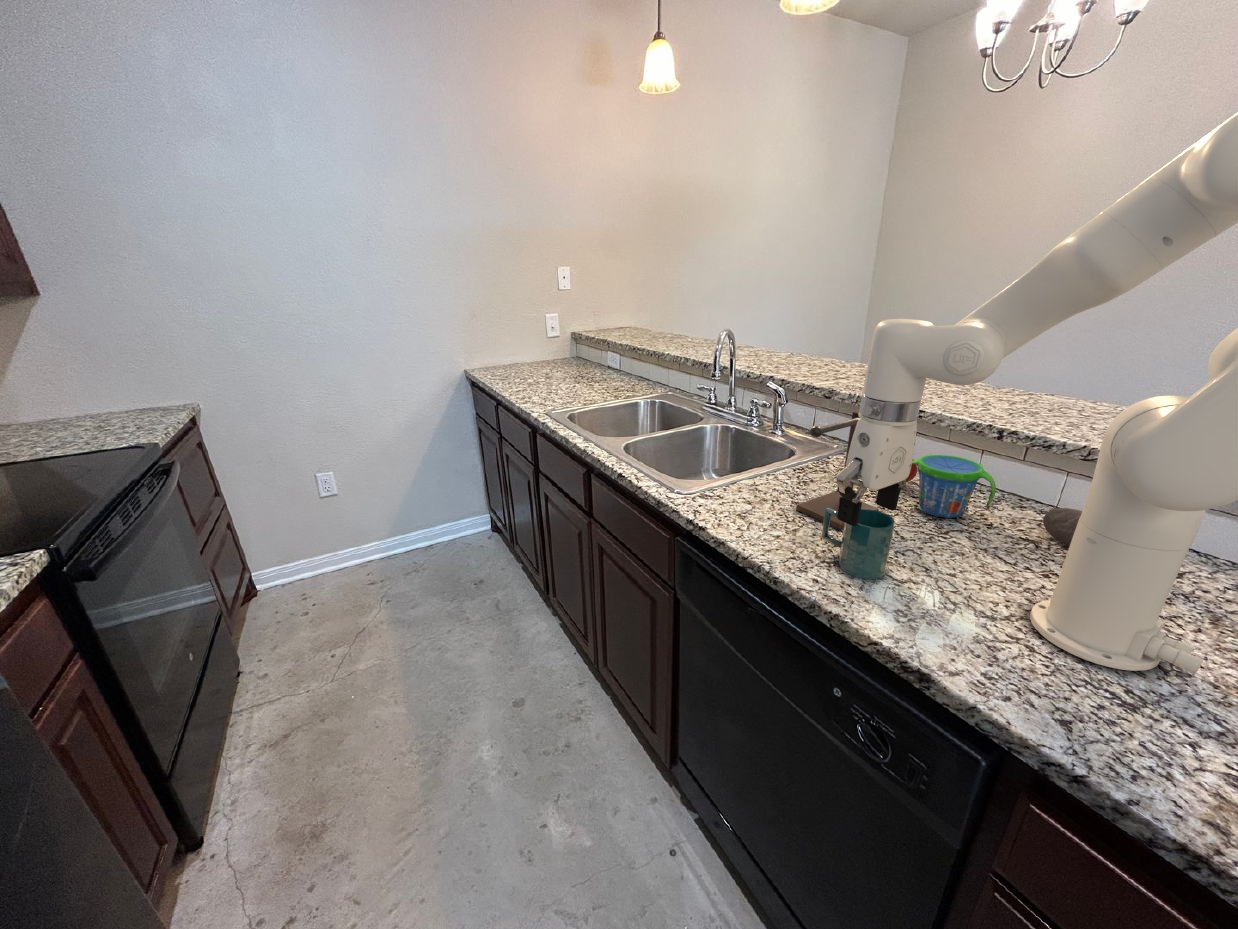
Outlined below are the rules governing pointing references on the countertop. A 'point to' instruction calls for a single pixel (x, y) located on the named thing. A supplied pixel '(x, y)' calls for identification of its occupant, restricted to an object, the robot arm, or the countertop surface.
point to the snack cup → (948, 484)
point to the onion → (912, 472)
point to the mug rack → (832, 499)
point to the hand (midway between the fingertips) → (866, 514)
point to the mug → (863, 543)
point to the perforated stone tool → (1062, 523)
